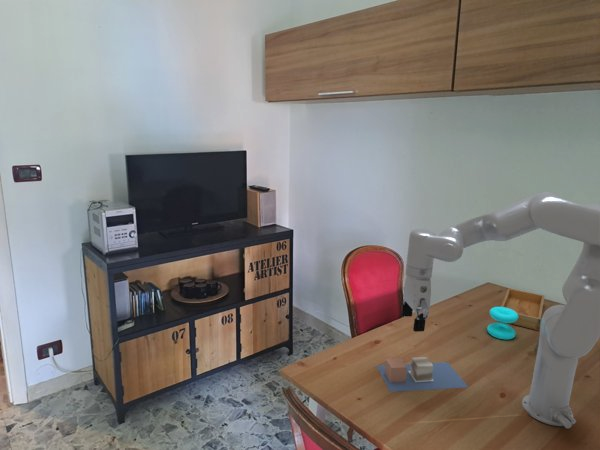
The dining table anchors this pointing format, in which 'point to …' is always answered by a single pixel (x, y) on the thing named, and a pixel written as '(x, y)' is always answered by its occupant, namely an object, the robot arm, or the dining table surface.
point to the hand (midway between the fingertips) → (412, 323)
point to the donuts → (500, 328)
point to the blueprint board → (441, 379)
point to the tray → (525, 307)
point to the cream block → (421, 368)
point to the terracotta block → (395, 370)
